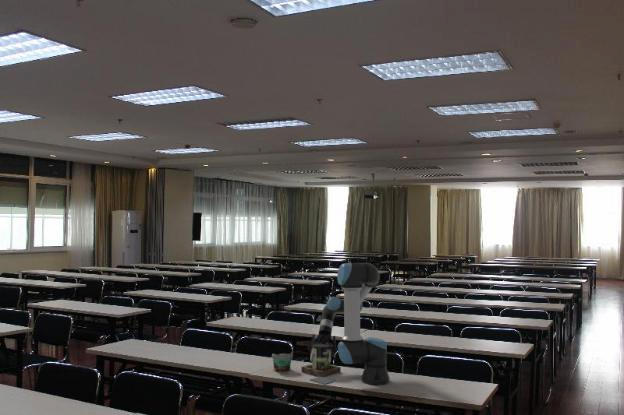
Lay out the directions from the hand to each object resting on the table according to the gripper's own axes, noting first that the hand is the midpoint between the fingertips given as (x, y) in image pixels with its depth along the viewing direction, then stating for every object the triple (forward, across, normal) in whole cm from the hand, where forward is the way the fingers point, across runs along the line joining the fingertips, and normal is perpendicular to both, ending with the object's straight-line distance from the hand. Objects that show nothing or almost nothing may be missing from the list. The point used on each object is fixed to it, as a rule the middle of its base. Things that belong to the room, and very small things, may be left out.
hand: (320, 361), depth 337 cm
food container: (+6, +22, -5) cm, 23 cm away
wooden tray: (+3, 0, -7) cm, 8 cm away
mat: (+15, -4, +5) cm, 17 cm away
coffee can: (+2, 0, -6) cm, 6 cm away
